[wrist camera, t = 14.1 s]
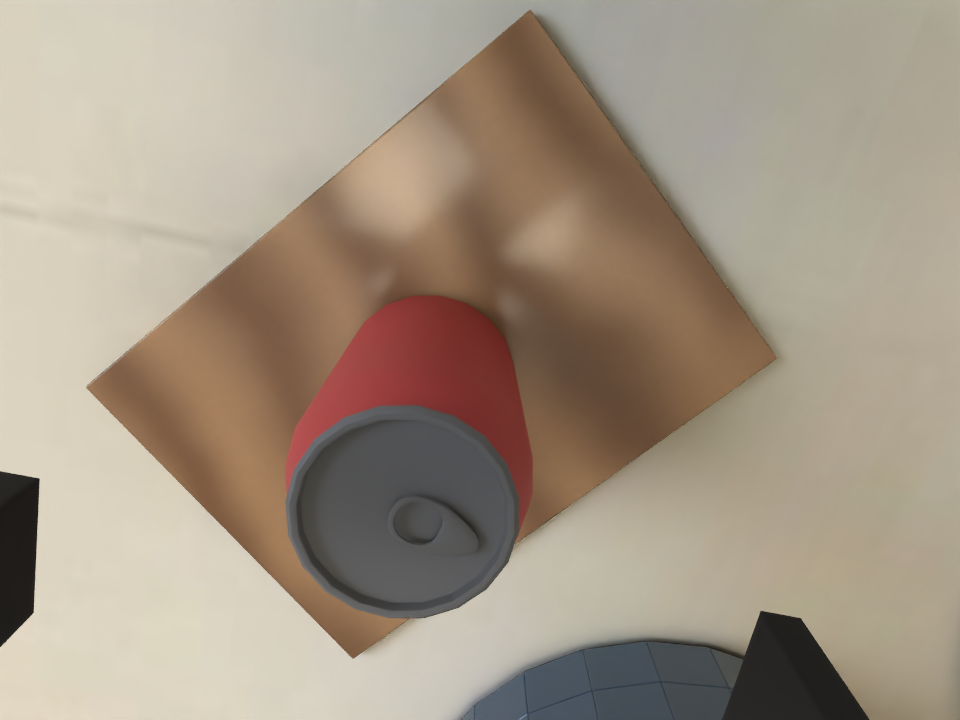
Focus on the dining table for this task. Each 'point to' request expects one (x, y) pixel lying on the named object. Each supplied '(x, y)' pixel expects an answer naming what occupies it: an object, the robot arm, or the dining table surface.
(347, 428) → the beer can
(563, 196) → the wooden cutting board
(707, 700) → the blue bowl
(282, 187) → the dining table surface
